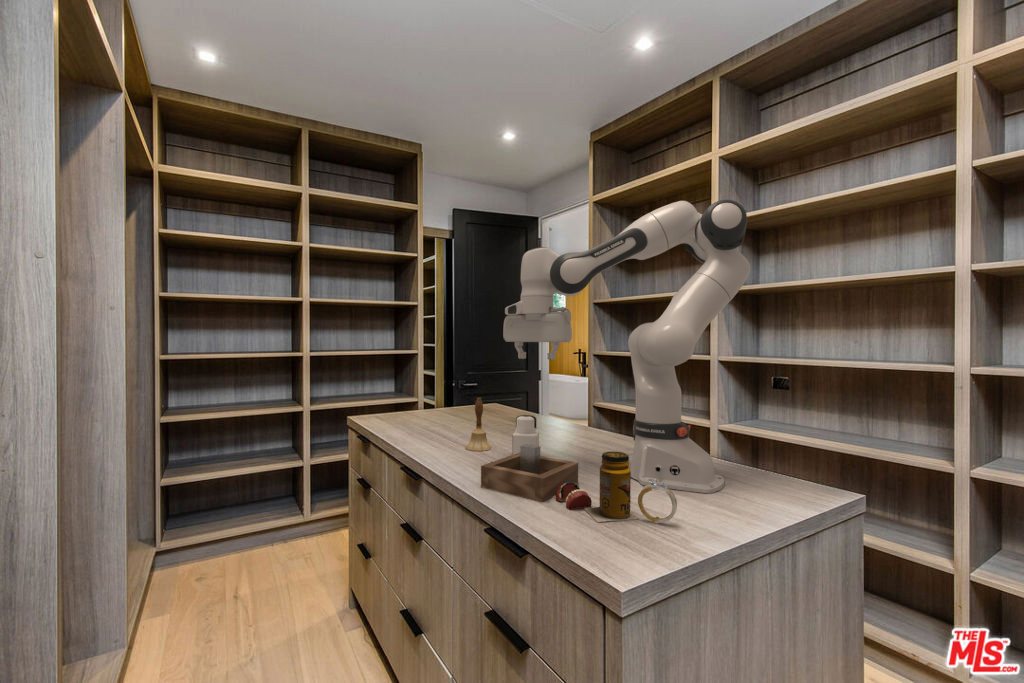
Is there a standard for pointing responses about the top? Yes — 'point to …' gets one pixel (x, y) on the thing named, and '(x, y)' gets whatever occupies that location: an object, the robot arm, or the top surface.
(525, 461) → the stepped grey peg
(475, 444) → the hand bell
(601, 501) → the condiment
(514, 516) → the top surface
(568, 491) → the dentures model
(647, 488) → the bracelet
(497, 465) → the open wooden box
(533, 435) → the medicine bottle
